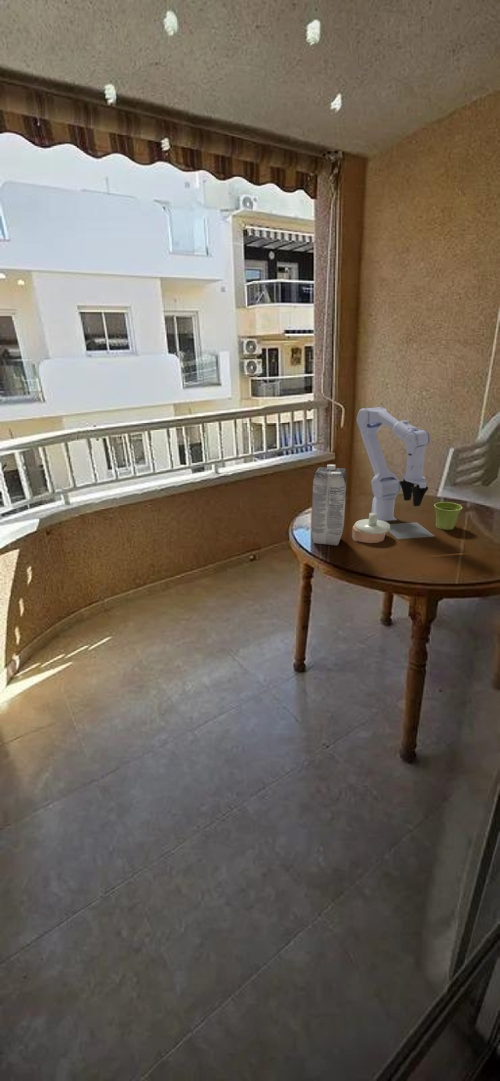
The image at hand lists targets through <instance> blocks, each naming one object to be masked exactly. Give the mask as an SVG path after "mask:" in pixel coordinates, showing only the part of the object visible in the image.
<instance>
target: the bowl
mask: <svg viewBox="0 0 500 1081" xmlns="http://www.w3.org/2000/svg"><path fill="white" fill-rule="evenodd" d="M351 532H352V533H351V538H352V540H353V541H355V542H357V543H359V542H361V543H366V544H374V543H375V544H377V543H380V542H383V541H384V540H385V537H386V533H382V534H369V533H364V532H361V531H358V530H357V529H356V528H355V523H354V524H353V526H352V530H351Z"/></svg>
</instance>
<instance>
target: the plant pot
mask: <svg viewBox="0 0 500 1081" xmlns="http://www.w3.org/2000/svg"><path fill="white" fill-rule="evenodd" d="M433 506H434V509H435V527H436V528H438V529H441V530H446V531H447V530H448V531H451V530H453V529H454V528H455V525H456V523H457V520H458V518H459V515H460V513H461V511H462V509H463V506H462V505H461V504H458V503H455V502H450V501H442V502H439V501H438V502H436V503H434V504H433Z"/></svg>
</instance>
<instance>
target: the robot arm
mask: <svg viewBox="0 0 500 1081" xmlns="http://www.w3.org/2000/svg"><path fill="white" fill-rule="evenodd" d="M356 423H357V426H358V429H359V432H360V436H361V438H362V442H363V444H364V448H365V450H366V454H367V456H368V459H369V462H370V465H371V467H372V471H373V475H374V476H373V477H372V479H371V481H370V484H371V491H372V494H373V496H374V497H373V498H372V502H371V512H369V514H370V513H376V514H378V516H377V520H382V521H385V522H388V521H398V519H397V518H396V517H395V516H394V513H395V511H394V510H395V506H396V505H395V503H396V498H397V497H398V494H400V492H401V491H402V496H403V500H404V501H411V499H412V504H413V507H420V506H421V504H422V501H423V498H424V496H425V494H426V493H427V491H428V490H429V486H427V482H426V481H425V480H426V479H427V478H426V477H425V476H423V475H424V466H425V465H424V464H425V455H426V454H425V453H426V446H428V445H429V443H430V441H431V436H430V433H429V432H428V431H427V430H426V429H419V428H418V427H417V426H413V425H412V424H411V423H410V422H409V421H408V420H407V419H406V420H405V419H403V420H400V421H399V420H398V419H397V418H395V417H394V416H393V415H391V414H390V413H389V412H388V409H387V408H385V407H383V406H378V407H368V408H363V407H362V408H360V409H359V410H358V413H357V416H356ZM383 425H384V426H385V427H387V428H389V429H391V430H392V433H393V435H394V436H395V437H397V438H398V439H400V440H401V441H403V443H404V446H405V452H406V464H405V465H406V466H405V473H402V476H401V480H399V479H398V478H397V475H396V474H395V473H393V471H390V470H389V467H388V465H387V461H386V459H385V455H384V453H383V451H382V447H381V445H380V442H379V438H378V436H377V433H378V432H379V431H380V429H381V428H382V426H383ZM415 485H416V486H415ZM369 514H368V515H369Z"/></svg>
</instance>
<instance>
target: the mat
mask: <svg viewBox="0 0 500 1081" xmlns="http://www.w3.org/2000/svg"><path fill="white" fill-rule="evenodd" d="M389 524H390V530H389V531H388V532H389V533H390V535H392V536H393V537H394V538H395V539H396V540H404V539H405V540H406V539H417V538H419V539H420V538H429V537H430V538H431V537H434V538H435V534H433V533H431V532H430V530H428V529H426V528H425V527H424V526H422V525H421V524H420V523H419V522H404V523H401V522H400V523H389Z"/></svg>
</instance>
